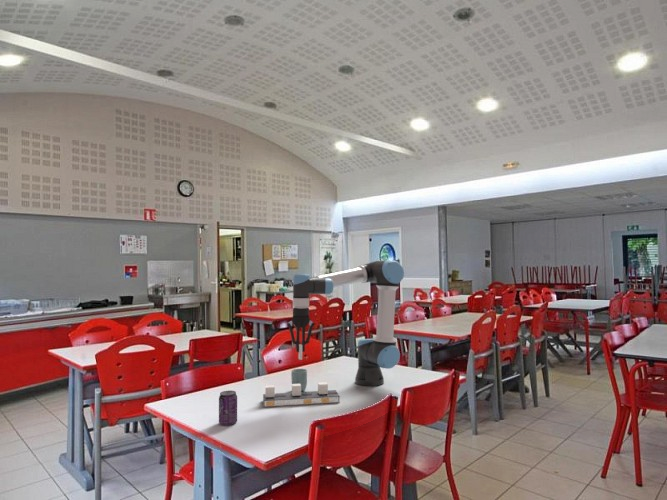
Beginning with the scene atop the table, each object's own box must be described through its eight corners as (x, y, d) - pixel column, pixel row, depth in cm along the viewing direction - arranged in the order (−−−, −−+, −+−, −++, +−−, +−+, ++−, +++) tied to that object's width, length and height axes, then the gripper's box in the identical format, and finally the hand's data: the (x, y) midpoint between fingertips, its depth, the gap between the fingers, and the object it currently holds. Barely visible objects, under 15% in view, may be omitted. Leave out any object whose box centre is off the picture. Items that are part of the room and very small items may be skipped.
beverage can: (220, 420, 180) (220, 390, 181) (238, 419, 181) (238, 389, 181) (217, 426, 173) (217, 395, 174) (236, 426, 174) (235, 394, 174)
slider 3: (326, 391, 209) (326, 382, 209) (327, 393, 205) (327, 384, 205) (317, 392, 208) (317, 382, 208) (319, 394, 204) (319, 384, 205)
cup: (304, 393, 219) (304, 372, 220) (289, 392, 221) (289, 371, 221) (308, 388, 227) (308, 368, 227) (294, 388, 228) (293, 368, 229)
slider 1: (274, 394, 205) (274, 384, 205) (274, 396, 201) (274, 387, 201) (265, 394, 204) (265, 385, 204) (265, 397, 200) (265, 387, 201)
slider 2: (300, 392, 207) (300, 383, 207) (301, 395, 203) (301, 385, 203) (291, 393, 206) (291, 384, 206) (292, 395, 202) (292, 386, 203)
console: (335, 396, 213) (335, 389, 213) (339, 402, 202) (339, 395, 202) (263, 400, 207) (263, 393, 207) (263, 407, 197) (263, 400, 197)
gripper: (313, 306, 211) (313, 357, 210) (286, 306, 209) (285, 357, 208) (316, 307, 204) (315, 360, 203) (287, 308, 202) (286, 361, 200)
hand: (300, 359), depth 205 cm, fingers closed
